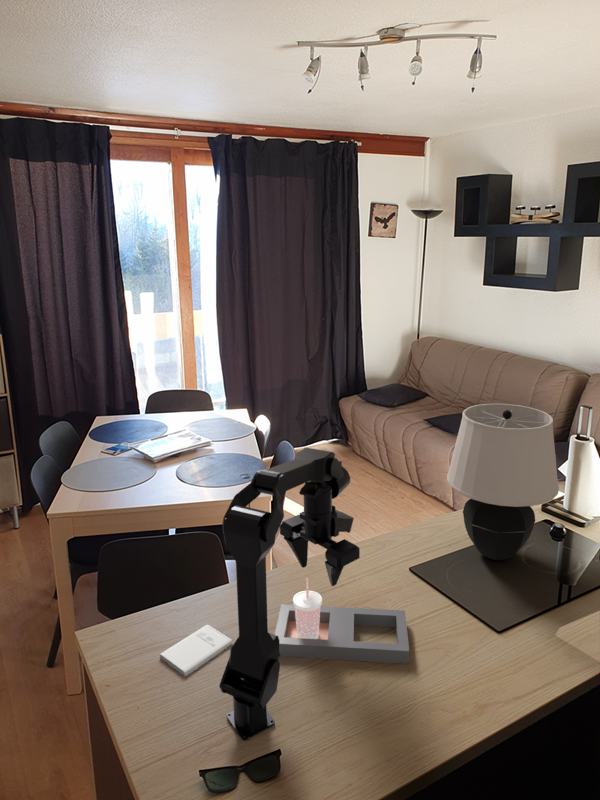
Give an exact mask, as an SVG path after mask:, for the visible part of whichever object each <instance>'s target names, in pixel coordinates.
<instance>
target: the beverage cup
mask: <svg viewBox="0 0 600 800" xmlns="http://www.w3.org/2000/svg"><path fill="white" fill-rule="evenodd" d="M305 583H306V584H305V585H306V586H305V587H306V588H305V589H306V590H303V591H299V592H297V593H295V594H294V595H293V598H292V605H294V606H295V617H296V629H297V637H298V638H305V639H318V637H319V622H320V606H322V604H323V597H322V596H321V594H320V593H319V592H317V591H314V590H310V586H309V577H307V576H306V578H305Z"/></svg>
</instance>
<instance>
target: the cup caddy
mask: <svg viewBox="0 0 600 800" xmlns="http://www.w3.org/2000/svg"><path fill="white" fill-rule="evenodd" d="M355 626H358V627H375V628H392V629H393V628H395V634H396V636H395V637H396V643H395V642H394V643H391V642H376V641H375V642H373V641H355V639H354V638H355V637H354V635H355ZM408 634H409V633H408V627H407V617H406V611H405V610H403V609H402V610H401V609H399V610H398V609H379V608H365V607H364V608H362V607H361V608H359V607H358V608H357V607H345V606H344V607H343V606H342V607H341V606H339V607H337V606H322V605H321V606H320V622H319V637H318V639H305V638H298V637H297V629H296V617H295V606H294V604H282V603H281V604H280V609H279V613H278V617H277V622H276V627H275V631H274V635H277V636H278V638H279V641H280V642H279V652H280V657H286V658H287V657H288V658H302V659H303V658H305V659H306V658H307V659H321V660H339V661H354V662H356V661H357V662H371V663H385V664H386V663H388V664H391V663H392V664H406V665H408V664H410V646H409V635H408Z"/></svg>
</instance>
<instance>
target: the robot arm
mask: <svg viewBox="0 0 600 800" xmlns="http://www.w3.org/2000/svg"><path fill="white" fill-rule="evenodd" d="M335 456H336V454H335V452H334V451H330V450H329V451H328V450H323V449H317V448H311V447H304V448H302V449H301V450H300V451H298V452H297V453H296V458H295V459H292V460H289V461H287V462H284V463H281V464H278V465H274V466H272V467H269V468H266V469H265V468H263V469H261V470H260V469H258V470H257V471H256V472H255V474H254V475H253V478H252V480H250V481H251V482H249V484H247V485H246V486H245V487H244V488H242V489H241V490H240V491H238V492H237V493H236V494H234V496H233V499H232V500H231V502H230V504H229V505H228V508H227V510H226V512H225V513H224V516H223V518H222V523H221V525H222V533H223V538H224V543H225V546H226V548H227V550H228V552H229V553H230V554H231V556H232V558H233V559H234V562H235V572H236V573H235V574H236V576H235V577H236V594H237V595H236V598H237V618H238V619H237V623H238V624H237V625H238V637H237V638H236V640H235V641H234V643H232V645H231V647H230V651H229V657H228V660H227V662H226V663H227V664H226V665H225V668H224V670H223V674H222V677H221V680H220V682H219V686H218V687H219V689H220V691H221V693H222V694H227V695H229V696H232V701H233V702H232V707H233V710H232V711H230V712H228V713H227V714H226V719H227V721H228V722H229V724H230V725H231V726H232V728H233V729H234V731H235V733H237V736H239V738H240V739H241V741H246V740H249V739H250V738H252V737H254V736H256V735H258V734H260V733H262V732H263V731H266V730H267V729H270V728H271V727H274V726H275V724H276V721H275V719H274V718H273V717H272V715H271V714H270V713H269V711H268V710H267V708H268V707H267V705H268V703H269V702H270V701H271V699H272V698H273V696H274V695H275V694H276V693H277V691H278V690H277V689H278V682H279V675H280V671H281V670H280V669H281V663H280V657H281V656H280V652H279V642H280V641H279V638H278V636H277V635H275V633H274V634H273V633H271V632H269V630H268V629H269V627H268V597H267V596H268V595H267V593H268V592H267V591H268V590H267V556H268V554H269V553H270V551H271V550H272V548H273V547H274V545H275V543H276V535H277V533H278V531H279V534H280V535H281V536H283V539H284V540H285V541H286V543H287V544H288V546H289V547H290V549H291V551H292V553H293V554H294V556H295V557H296V560H297V561H298V563H299V564H300V567H301V568H306V567H307V565H308V557H309V556H308V555H309V553H308V551H309V542H310V543H312V544H314V545H318V546H321V548H324V549H326V551H325V553H324V554H325V555H324V556H325V561H324V565H325V569H326V572H327V577H328V580H329V583H330V586H331V587H334V586H337V583H338V581H339V579H340V576H341V574H342V571H343V569H344V568H345V566H347V565H349V564H351V563H353V562H355V561H356V560H359V559H360V558H361V557H360V556H361V555H360V547H359V546H357V545H356V544H354V543H352V542H351V541H349V540H347V539H345V538H344V539H342V540H339V541H335V540H334V539H332V538H336V537H338V536H340V533H351V530H352V526H353V524H354V520H355V519H354V517H353V516H351V515H348V514H347V513H345V512H343V511H340V510H337V508H336V506H335V505H333V500H334V499H336V498H337V497H339V495H340V494H342V492H343V491H345V489H346V488H348V487H349V485H350V483H351V475H350V473H349V471H348V470H347V469H346V467H344V466H343V465H342V463H343V462H342V461H341V460H339V459H338V458H337V457H335ZM303 484H304V485H303ZM301 485H303V486H302V487H301V488H300V490H299V492H298V493H299V495H301V496H303V511H302V512H299V514H296V515H295V516H293V517H290V518H287V519H285V520H283V519H284V517H285V513H284V505H283V498H284V496H285V494H286V492H287V491H289V490H292V489H295V488H296V487H299V486H301ZM261 494H266V495H270V496H273V502H274V505H273V508H272V510H271V512H270V511H265V510H262V509H257V508H252V507H249V504H251V503H252V502H253V501H255V500H256V499H257V498H259V496H260V495H261Z"/></svg>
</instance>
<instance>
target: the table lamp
mask: <svg viewBox="0 0 600 800" xmlns="http://www.w3.org/2000/svg"><path fill="white" fill-rule="evenodd" d="M555 449H556V447H555V437H554V418H553V416H552V415H550V414H548V413H547V412H545V411H542V410H540V409H537V408H533V407H530V406H525V405H519V404H509V403H484V404H483V403H482V404H476V405H473V406H472V405H471V406H469V407H467V408H465V409H464V410H463V411H462V418H461V421H460V425H459V429H458V433H457V436H456V440H455V445H454V448H453V453H452V457H451V460H450V461H451V462H450V464H449V469H448V472H447V474H446V479H447V483H448V484H449V486H450V487H451V489H453V490H454V491H456V492H457V493H458V494H459V495H462V496H464V497H466V498H469V499H467V501H465V503H464V506H463V509H462V517H463V523H464V527H465V530H466V532H467V533H466V534H467V535H468V537H469V539H470V541H471V542H472V544H473V545H474V546H475V548H476V550H477V551H478V552H479V553H480V554H481V555H482V556H483V557H485V558H488V559H489V560H490V559H491V560H493V561H505V560H506V561H507V559H511V558H512V557H513V556H515V555H516V554H517V553H518V552H519V551H520V550H521V549H522V548H523V546H525V544H526V543H527V541H528V540H529V538H530V537H531V534H532V532H533V530H534V526H535V523H536V515H535V511H534V509H533V508H532V507H533V506H538V505H544V504H546V503H549V502H550V501H553V500H554V499H555V498H556V497H557V496H558V494H559V490H560V486H559V482H558V481H559V480H558V472H557V460H556V458H557V457H556V450H555Z"/></svg>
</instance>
